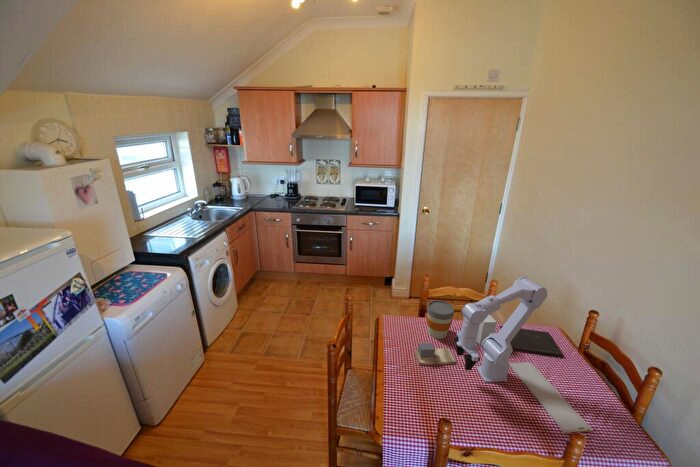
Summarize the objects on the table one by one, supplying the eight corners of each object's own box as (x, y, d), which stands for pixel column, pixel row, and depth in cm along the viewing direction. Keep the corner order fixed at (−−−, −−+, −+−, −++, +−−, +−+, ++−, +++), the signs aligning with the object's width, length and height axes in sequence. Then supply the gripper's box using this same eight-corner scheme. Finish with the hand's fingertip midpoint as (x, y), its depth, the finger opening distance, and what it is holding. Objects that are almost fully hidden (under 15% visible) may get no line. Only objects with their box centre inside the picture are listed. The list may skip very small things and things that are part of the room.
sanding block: (430, 352, 135) (432, 343, 133) (433, 358, 131) (435, 349, 129) (417, 352, 134) (418, 343, 133) (420, 359, 131) (421, 349, 129)
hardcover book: (498, 329, 154) (499, 325, 153) (547, 336, 150) (548, 332, 149) (507, 351, 139) (508, 347, 138) (562, 359, 135) (563, 355, 134)
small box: (492, 345, 142) (497, 322, 137) (479, 345, 141) (484, 322, 137) (483, 334, 149) (488, 311, 145) (471, 334, 149) (475, 312, 144)
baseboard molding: (533, 364, 132) (508, 366, 130) (535, 358, 131) (509, 360, 129) (596, 431, 103) (564, 435, 102) (598, 425, 102) (566, 429, 101)
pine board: (448, 350, 138) (448, 348, 137) (455, 363, 130) (455, 361, 130) (414, 351, 136) (414, 349, 136) (419, 364, 129) (419, 362, 129)
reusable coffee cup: (420, 325, 154) (423, 300, 149) (444, 324, 156) (447, 299, 151) (429, 342, 143) (433, 315, 138) (454, 340, 144) (459, 314, 139)
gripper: (451, 321, 120) (447, 349, 124) (467, 347, 106) (461, 377, 111) (468, 321, 120) (463, 348, 125) (486, 346, 106) (480, 376, 111)
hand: (463, 362), depth 118 cm, fingers open, 7 cm apart
